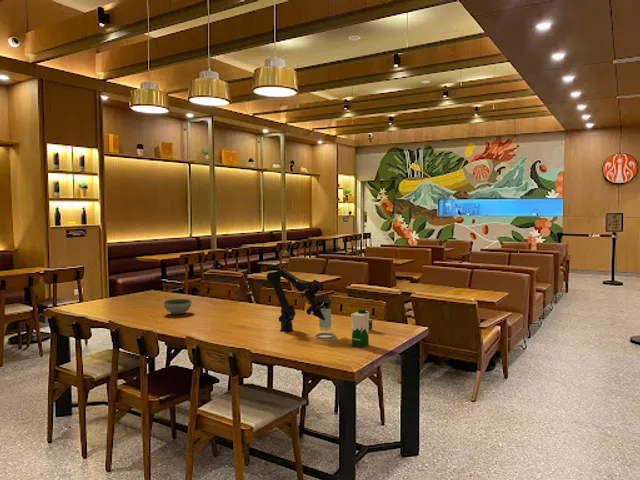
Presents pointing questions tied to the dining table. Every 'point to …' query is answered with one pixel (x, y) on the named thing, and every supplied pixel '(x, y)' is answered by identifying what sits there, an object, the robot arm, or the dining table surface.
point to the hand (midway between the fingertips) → (327, 319)
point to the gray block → (326, 323)
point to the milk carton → (360, 328)
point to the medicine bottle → (369, 322)
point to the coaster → (325, 336)
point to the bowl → (177, 306)
